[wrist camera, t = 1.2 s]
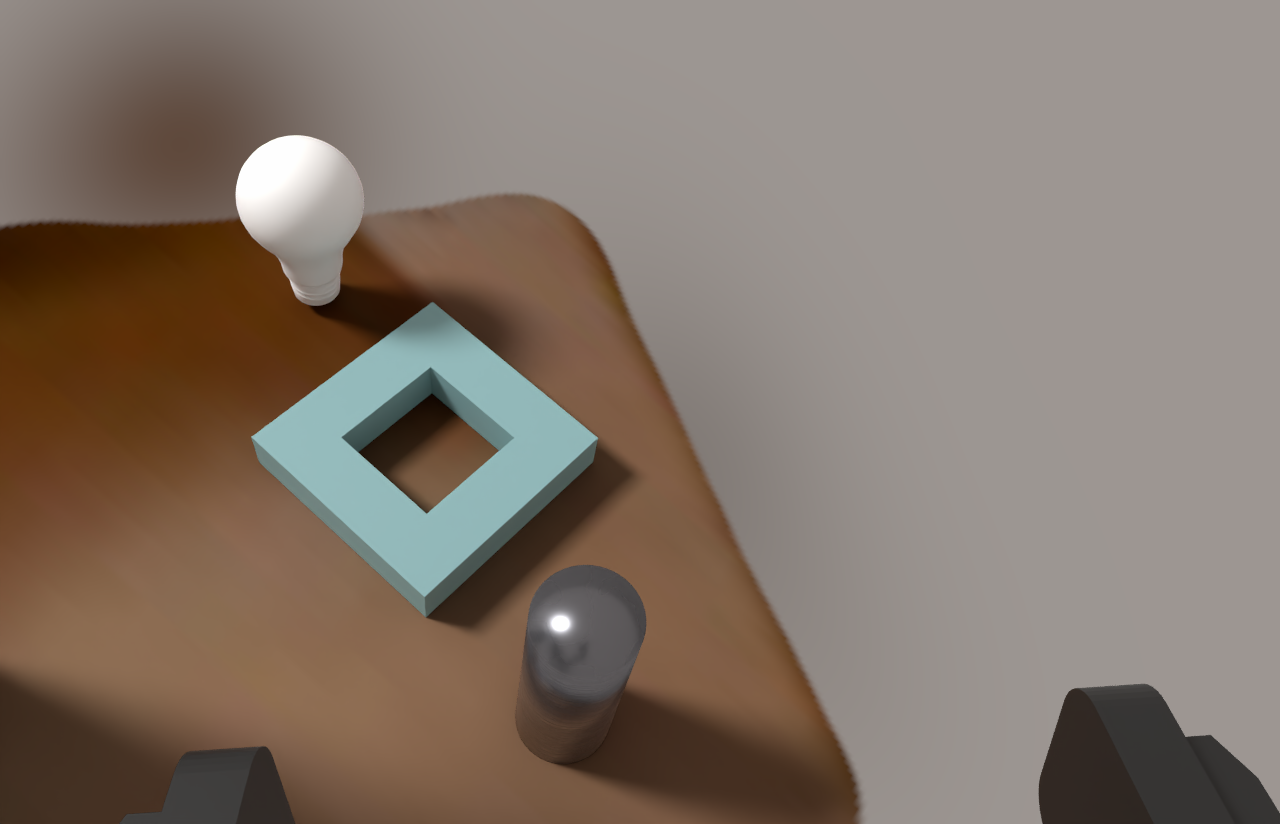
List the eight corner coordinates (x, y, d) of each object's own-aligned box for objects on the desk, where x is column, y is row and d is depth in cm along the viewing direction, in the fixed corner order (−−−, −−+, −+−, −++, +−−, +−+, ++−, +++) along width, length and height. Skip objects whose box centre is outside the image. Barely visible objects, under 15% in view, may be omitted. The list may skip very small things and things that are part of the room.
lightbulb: (397, 294, 62) (386, 153, 53) (317, 360, 59) (290, 223, 50) (319, 237, 64) (295, 90, 55) (237, 298, 61) (196, 154, 52)
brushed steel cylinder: (566, 784, 49) (592, 702, 39) (495, 718, 51) (503, 621, 41) (629, 713, 52) (670, 617, 42) (560, 651, 53) (583, 543, 43)
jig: (425, 617, 53) (424, 596, 51) (259, 462, 56) (251, 437, 54) (593, 462, 58) (597, 438, 56) (433, 329, 62) (432, 301, 59)
